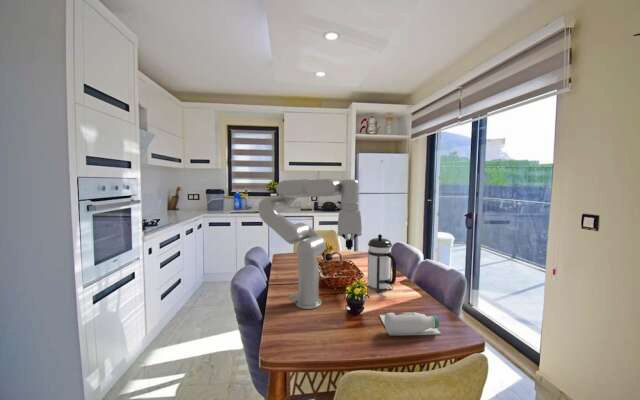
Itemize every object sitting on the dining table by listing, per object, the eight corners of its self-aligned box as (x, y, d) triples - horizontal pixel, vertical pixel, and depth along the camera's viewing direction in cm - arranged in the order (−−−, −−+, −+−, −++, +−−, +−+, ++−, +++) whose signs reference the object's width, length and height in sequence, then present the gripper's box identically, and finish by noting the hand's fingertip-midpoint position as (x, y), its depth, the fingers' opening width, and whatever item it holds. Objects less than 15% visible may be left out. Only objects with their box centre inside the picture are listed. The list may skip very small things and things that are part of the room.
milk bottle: (387, 338, 111) (437, 336, 113) (391, 327, 107) (443, 325, 109) (382, 320, 117) (429, 318, 119) (386, 308, 113) (435, 307, 115)
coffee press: (362, 291, 156) (362, 236, 154) (368, 281, 170) (369, 231, 168) (395, 296, 149) (396, 238, 147) (399, 286, 164) (400, 233, 162)
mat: (389, 335, 112) (389, 334, 112) (379, 316, 128) (379, 315, 127) (440, 334, 112) (440, 333, 112) (424, 315, 128) (424, 314, 128)
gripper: (333, 208, 124) (333, 251, 125) (368, 208, 124) (367, 250, 126) (331, 206, 131) (331, 247, 132) (364, 206, 132) (364, 246, 133)
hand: (349, 248), depth 129 cm, fingers closed
